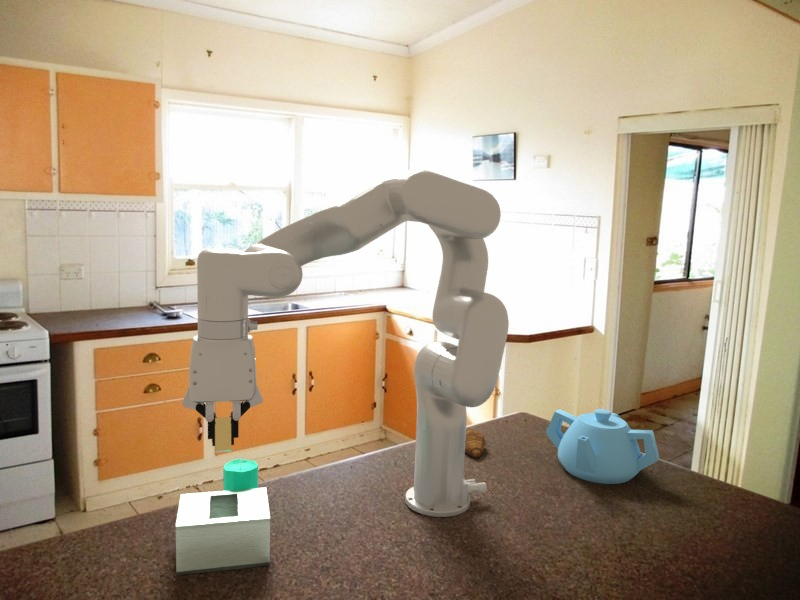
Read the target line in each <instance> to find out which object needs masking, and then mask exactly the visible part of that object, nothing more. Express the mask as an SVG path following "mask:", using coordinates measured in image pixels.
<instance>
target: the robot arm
mask: <svg viewBox="0 0 800 600" xmlns="http://www.w3.org/2000/svg"><path fill="white" fill-rule="evenodd" d="M500 207H501V206H500V204H499V202H498V200H497V199H496V197H495V196H494V195H493V194H491V193H490V192H488V191H487V190H485V189H482V188H481V187H477V186H474V185H471V184H469V183H466V182H462V181H459V180H456V179H453V178H452V177H451V178H450V177H448V176H445V175H443V174H439V173H437V172H434V171H430V170H426V169H405V170H403V169H402V170H396V171H392V172H389V173H388V174H385V175H383V176H381V177H379V178H378V179H376V180H374V181H373V182H371V183H369V184H367V185H366V186H364V187H363V188H361V189H359V190H357V191H355V192H354V193H352V194H349V195H348V196H347V197H345V198H343V199H340V200H339V201H337V202H336V203H334V204H332V205H330V206H327V207H326V208H323V209H320V210H319V211H316V212H315V213H313V214H310V215H308V216H306V217H304V218H301V219H299V220H296V221H295V222H293V223H290V224H288V225H285V226H283V227H282V228H279V229H278V230H276V231H274V232H272V233H271V234H269V235H267V236H266V237H264V238H261V239H260V240H259V241H257V242H255V243H253V244H252V245H250V246H249V247H248V248H246V250H244V251H243V250H240V249H234V248H208V249H204V250H203V249H202V251H200V252H199V254H198V256H197V259H196V260H197V261H196V262H197V264H196V266H197V268H196V269H197V270H196V271H197V272H196V273H197V274H196V276H197V278H196V279H197V280H196V281H197V285H196V286H197V293H196V294H197V335H194V336H193V337H192V341H191V347H190V355H189V357H190V358H189V370H188V371H189V372H188V375H189V377H188V387H187V390H186V392H185V395H184V397H183V399H182V402H181V404H182V407H183V408H187V409H191V410H194V411H196V412H197V413H198V414H200V415H201V416H202V417H203V418H204V419H205V421H206V422H207V440H211V442H212V447H215V424H216V422H215V418H218V416H217V413H216V412H215V403H231V402H232V411H231V412H230V416H228V417H231V446H234V445H235V439H236V438H240V437H239V428H240V427H239V421H240V419H241V417H242V416H243V415H244V414H245V413H246V412H247V411H248V410H249V409H251V408H254V407H256V406H258V405H260V404H262V403H263V401H264V398H263V395H262V392H261V391H260V388H259V387H258V384H257V362H256V360H257V359H256V349H255V343H254V338H253V335H251V334H249V333H250V332H252V331H258V321H257V320H256V321H253V320H251V319H250V318H249V296H253V297H254V296H255V297H264V298H276V299H277V298H283V297H286V296H289V295H291V294H293V293H294V292H296V291H297V289H298V288H299V287H300V285H301V284H302V280H303V276H304V274H303V268H302V267H303V266H306V265H307V264H309V263H312V262H314V261H317V260H320V259H323V258H327V257H328V258H329V257H336V256H343V255H346V254H350V253H353V252H356V251H359V250H360V249H362V248H364V247H365V246H367V245H368V244H370V243H371V242H373V241H375V240H376V239H379V237H381V236H383V235H385V234H386V233H389V232H391V230H394V228H396V227H398V226H399V225H401V224H403V223H406V222H415V223H423V224H425V225H428V226H429V228H430V230H431V231H432V232H433V233H434V234H435V237H437V239H438V241H439V244H440V247H441V251H442V252H441V253H442V264H441V270H440V275H439V281H438V286H437V291H436V295H435V300H434V302H433V303H434V304H433V307H432V308H433V309H432V323H433V325H434V327H435V328H436V330H438V331H439V332H440V333H442V334H443V335H445V336H448V337H451V338H453V339H456V340H457V341H458V345H456V344H453V343H450V342H446V341H433V342H430V343H428V344H426V345H425V346H423V347H422V348H421V349H420V350H419V352H418V353H417V354H416V356H415V359H414V360H415V361H414V364H413V377H414V384H415V391H416V392H415V393H416V425H415V427H416V428H415V445H414V446H415V450H414V451H415V452H414V471H413V473H414V475H413V486H411V487H410V488H409V489H408V490H407V491H406V492H405V497H404V498H405V503H406V505H407V507H408V508H409V509H411V510H412V511H414V512H416V513H418V514H420V515H424V516H427V517H434V518H447V517H448V518H449V517H455V516H458V515H461V514H463V513H465V512H466V511H467V510H468V509H469V508H470V507H471V498H470V496H472V494H483V493H487V491H488V487H487V483H486V482H485V481H483V482H476V479H475V478H468V479H465V477H464V476H465V475H464V474H465V473H464V471H465V457H466V456H465V453H466V451H465V439H466V431H467V421H468V420H467V418H468V417H467V408H476V407H480V406H482V405H483V404H485V403H486V402H487V401H488V400H490V399H489V398H490V397H491V396H492V394H493V393H494V391H495V388H496V385H497V383H498V378H499V374H500V370H501V365H502V362H503V356H504V353H505V347H506V342H507V339H508V333H509V328H510V327H509V324H510V322H509V315H508V311H507V308H506V305H505V304H504V302H503V301H501V299H500V298H498V297H497V296H496V295H494V294H491V293H489V292H485V287H486V282H487V275H488V268H489V253H488V249H487V248H488V247H487V245H486V242H485V238H487V237H489V236H490V235H492V234H493V233H494V232H495V231H496V230H497V228H498V226H499V224H500V221H501V215H502V214H501V208H500Z"/></svg>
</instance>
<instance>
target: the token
mask: <svg viewBox="0 0 800 600" xmlns="http://www.w3.org/2000/svg"><path fill="white" fill-rule="evenodd" d="M215 422H216V424H215V446H214V451H215V453H229V452H230V453H231V452H232V445H231V417H229V416H226V417H222V416H221V417H217V418H215Z"/></svg>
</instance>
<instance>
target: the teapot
mask: <svg viewBox="0 0 800 600" xmlns="http://www.w3.org/2000/svg"><path fill="white" fill-rule="evenodd" d="M563 422H564V423H566V424H567V425H569V426H568V427H567V429H566V430H565V431H564V433H563V432H562V430H561V429H562V428H561V427H562V425H563ZM545 434H546V435H547V437H548V438H549V439H550V440H551V442H552V443H553V445H554V446H555V447H556V449H557V458H558V461H559V462H560V464H561V465H562V467H563V468H564V469H565V470H566V471H567V472H568V473H569V474H570V475H572V476H573V477H576V478H578V479H580V480H584V481H587V482H591V483H597V484H604V485H618V484H623V483H624V484H625V483H627V482H629V481H631V480H632V479H633V478H634V477H636V476H637V474H639V472H640V471H642V470H644V469H646V468H647V467H650V466H651V465H653V464H655V463H656V462H658V461H659V459H660V454H659V449H658V446H657V441H656V437H655V434H654V430H653V429H652V430H650V429H647V430H646V429H632V428H631V427H630V426H629V424H628V422H627V421H626V420H624V419H623V418H621V416H620V415H619V414H617V413H614V412H612V411H611V410H608V409H605V408H597V409H594V412H587V413H582V414H580V415H578V416H576V415H573V414H571V413H569V412H568V411H565V410H562V409H560V408H559V409H557V410H555V411H554V412H553V414H552V417H551V419H550V422H549V424H548V425H547V428H546V431H545ZM637 440H643V447H644V452H645V453H643V454H641V449H640V445H639V442H638V441H637Z"/></svg>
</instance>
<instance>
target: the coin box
mask: <svg viewBox="0 0 800 600" xmlns="http://www.w3.org/2000/svg"><path fill="white" fill-rule="evenodd" d="M178 503H179V504H178V509H177V514H176V521H175V561H176V562H175V563H176V565H175V567H176V568H175V571H176V576H184V575H195V574H196V575H197V574H204V573H212V572H221V571H222V572H224V571H231V570H238V569H239V570H240V569H249V568H250V569H251V568H258V567H267V566H268V567H269V566H270V565H271V515H270V506H269V498H268V491H267V486H266V487H265V486H264V487H258V488H252V489H239V490H227V491H224V490H216V491H214V490H213V491H204V492H203V491H202V492H191V493H180V497H179V502H178Z"/></svg>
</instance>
